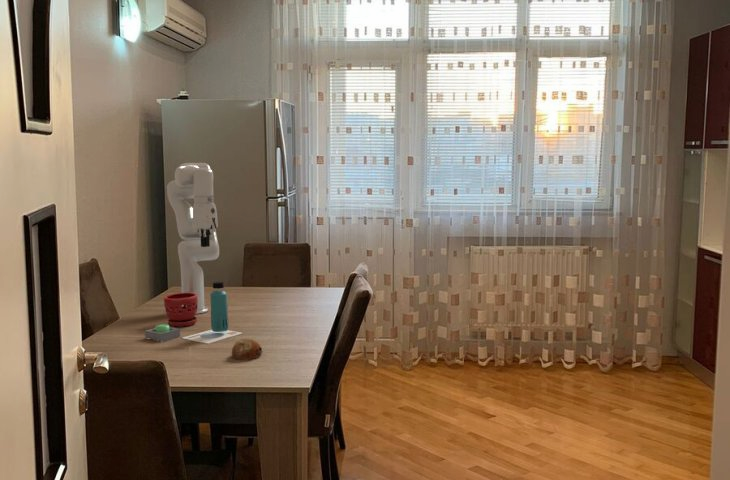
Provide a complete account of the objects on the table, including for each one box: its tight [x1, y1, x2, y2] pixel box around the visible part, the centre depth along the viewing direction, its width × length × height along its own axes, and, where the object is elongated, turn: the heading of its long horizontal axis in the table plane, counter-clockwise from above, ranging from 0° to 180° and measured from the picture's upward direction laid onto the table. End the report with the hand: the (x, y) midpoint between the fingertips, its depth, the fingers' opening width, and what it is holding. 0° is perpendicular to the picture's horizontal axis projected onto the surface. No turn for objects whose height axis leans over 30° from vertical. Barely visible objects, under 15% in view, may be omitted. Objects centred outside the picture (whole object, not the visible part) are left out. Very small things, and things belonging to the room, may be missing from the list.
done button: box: [154, 323, 170, 333], centre depth 281 cm, size 5×5×4 cm
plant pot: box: [163, 292, 198, 328], centre depth 302 cm, size 13×13×12 cm
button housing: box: [144, 326, 181, 342], centre depth 281 cm, size 9×9×3 cm
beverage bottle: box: [209, 281, 229, 332], centre depth 283 cm, size 6×7×20 cm
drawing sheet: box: [181, 329, 244, 345], centre depth 283 cm, size 14×18×1 cm
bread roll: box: [231, 338, 263, 361], centre depth 255 cm, size 10×10×8 cm
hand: (205, 246), depth 296 cm, fingers closed
